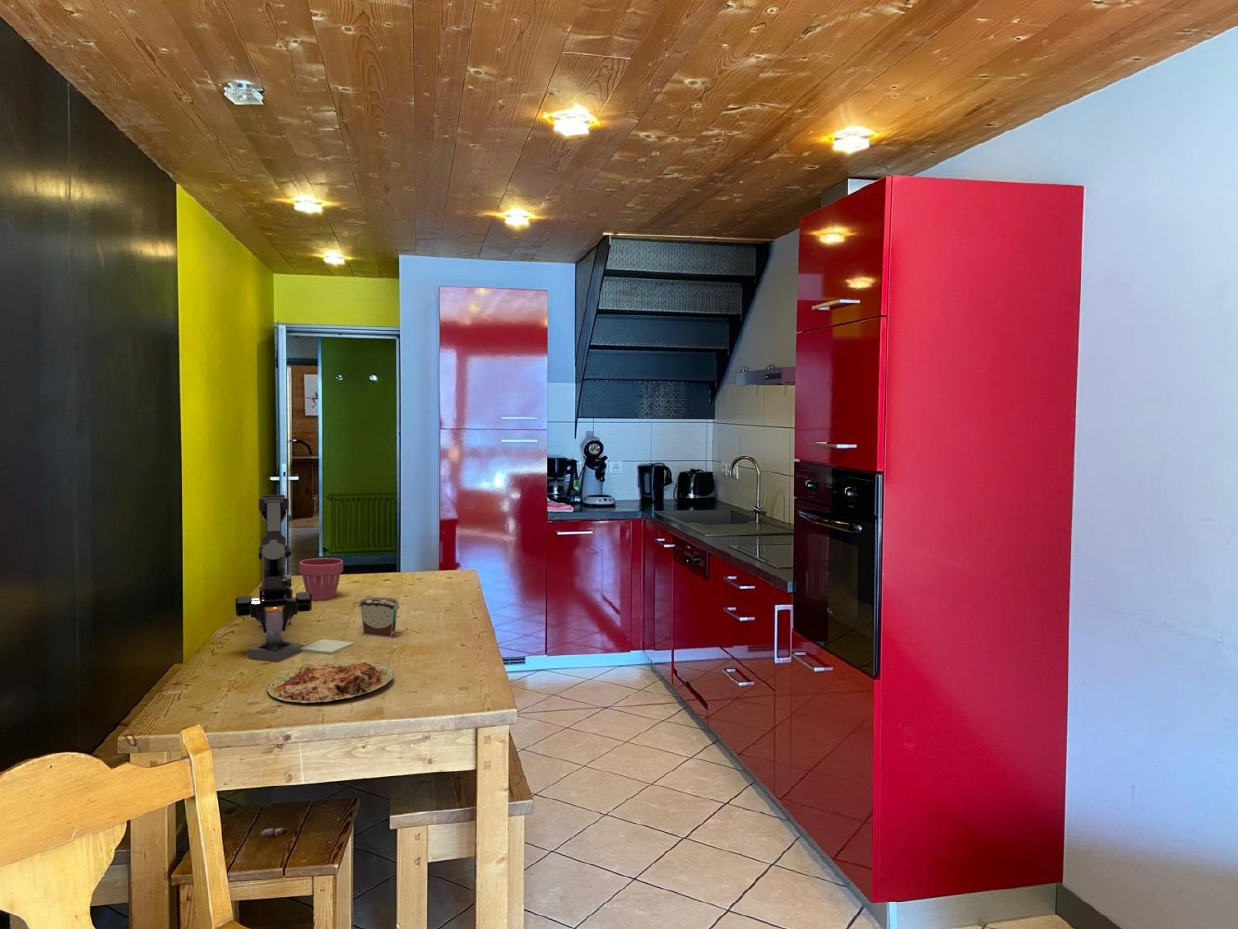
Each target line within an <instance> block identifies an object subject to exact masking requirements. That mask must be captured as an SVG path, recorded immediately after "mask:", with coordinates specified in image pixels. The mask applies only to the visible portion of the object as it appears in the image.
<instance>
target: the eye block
mask: <svg viewBox="0 0 1238 929" xmlns="http://www.w3.org/2000/svg"><path fill="white" fill-rule="evenodd" d="M301 648H302V647H301V642H292V641H284V647H283V648H280V649H278V650H272V649H266V645H265V642H264V643H260V644H257V645H255V646H253V647H250V648H248V650H247V655H248V656H247V657H248V658H250V660H256V659H259V661H265V660H266V662H267V661H268V662H274V661H275V662H276V663H278V661H279V662H281V661H284V660H286V659H288V658H287V657H289V658H291V657H293V656H292V655H294V656H295V654H296V655H298V654H301V653H300V652H302V651H301ZM297 653H298V654H297ZM290 656H291V657H290ZM285 658H286V659H285ZM283 659H284V660H283ZM280 660H281V661H280Z"/></svg>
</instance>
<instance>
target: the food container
mask: <svg viewBox="0 0 1238 929" xmlns="http://www.w3.org/2000/svg"><path fill="white" fill-rule="evenodd" d="M358 607H359V608H360V613H361V622H362V631H363V632H362V634H363V636H365V635H366V636H372V637H373V636H375V637H380V638H381V637H382V638H389V637H390V638H394V637H395V636H394V635H395V634H396V626H397V625H396V623H397V613H398V610H399V609H400V605H399V601H398V599H397V598H394V597H385V596H384V597H383V596H382V597H381V596H380V597H378V596H377V597H376V596H375V597H367V598H363V599H360V600H359V604H358ZM393 636H394V637H393Z"/></svg>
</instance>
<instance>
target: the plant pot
mask: <svg viewBox="0 0 1238 929" xmlns="http://www.w3.org/2000/svg"><path fill="white" fill-rule="evenodd" d="M298 568H299V574H301V575H302V576H301V577H302V581H303V585H304V586H303V587H304V590H305V592H310V593H311V594H312V601H313V600H324V601H330V600H333V598H334V599H335V598H336V595H337V590H338V587H339V584H340V583H339V581H340V578H341V574H342V573H343V571H344V561H343V560H342V559H340V558H335V557H334V558H333V557H319V558H318V557H317V558H307V559H303V560H301V561H299V567H298Z"/></svg>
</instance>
